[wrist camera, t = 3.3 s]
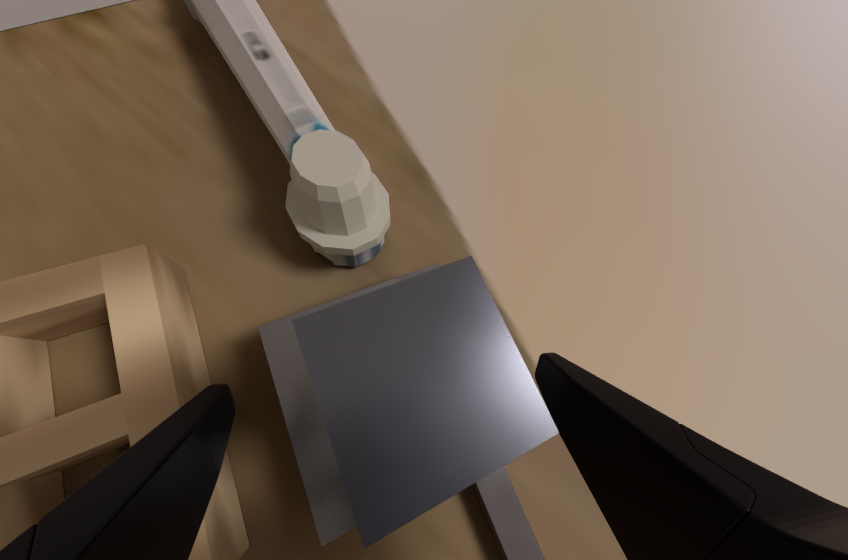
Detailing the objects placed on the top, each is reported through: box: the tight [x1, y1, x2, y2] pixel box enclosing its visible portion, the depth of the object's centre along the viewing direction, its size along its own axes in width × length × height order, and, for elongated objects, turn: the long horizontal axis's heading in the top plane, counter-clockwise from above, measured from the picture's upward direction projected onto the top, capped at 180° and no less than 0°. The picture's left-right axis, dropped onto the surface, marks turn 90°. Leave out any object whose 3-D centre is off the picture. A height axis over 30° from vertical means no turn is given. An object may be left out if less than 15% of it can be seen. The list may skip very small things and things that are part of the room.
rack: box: [0, 244, 250, 560], centre depth 13 cm, size 14×8×3 cm, turn 23°
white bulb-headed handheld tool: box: [184, 0, 390, 267], centre depth 19 cm, size 5×7×25 cm
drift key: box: [472, 466, 545, 560], centre depth 15 cm, size 7×2×1 cm, turn 23°
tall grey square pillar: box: [292, 256, 559, 548], centre depth 11 cm, size 3×3×13 cm
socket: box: [258, 263, 440, 547], centre depth 15 cm, size 9×9×3 cm
